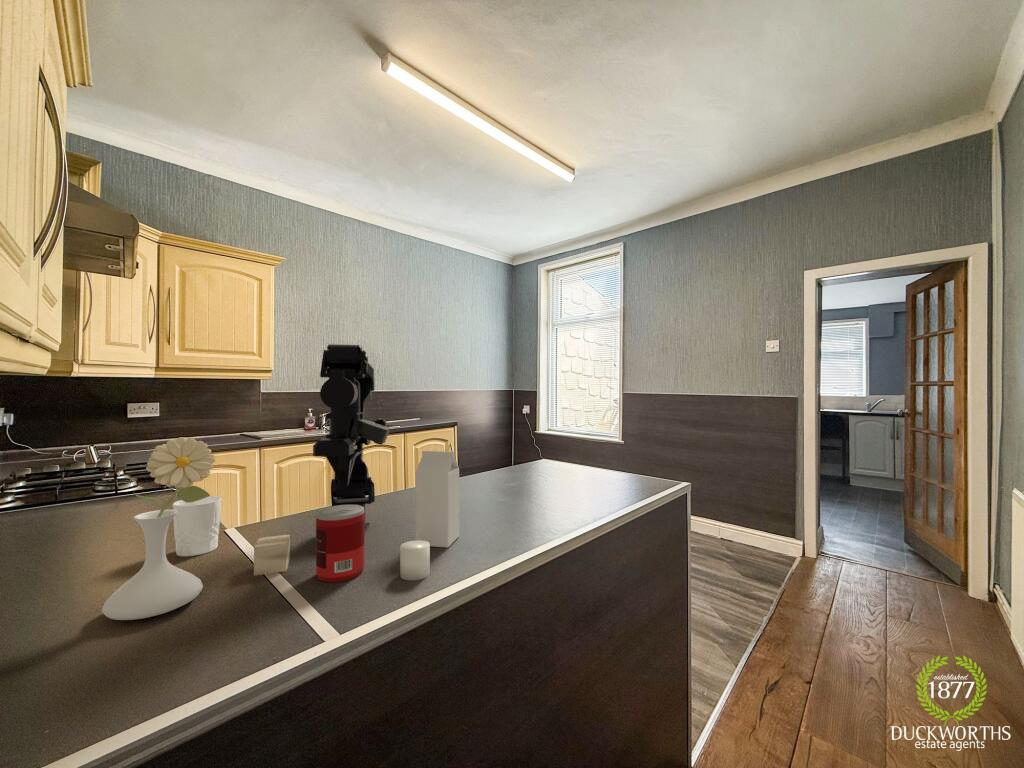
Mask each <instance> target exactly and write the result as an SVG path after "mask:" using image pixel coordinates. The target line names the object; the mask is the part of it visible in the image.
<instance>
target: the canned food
mask: <svg viewBox="0 0 1024 768" xmlns="http://www.w3.org/2000/svg"><path fill="white" fill-rule="evenodd" d="M365 533H366V531H365V511H364V507H363V506H360V505H337V506H332V505H331V506H329V507H324V508H322V509H320V510H318V511H317V512H316V516H315V570H316V571H315V574H316V577H317V579H318V580H320V582H321V581H322V582H324V583H325V582H326V583H338V582H345V581H349V580H351V579H354V578H355V577H357V576H359V575H361V573H363V571H364V569H365V544H366V543H365V539H366V537H365Z"/></svg>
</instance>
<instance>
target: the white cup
mask: <svg viewBox="0 0 1024 768" xmlns="http://www.w3.org/2000/svg"><path fill="white" fill-rule="evenodd" d="M221 507H222V497H221V496H217V495H210V496H209V497H206V498H204V499H201V500H198V501H195V502H190V503H187V502H184V501H183V500H182V499H180V500H176V501H174V502H173V503H172V510H177V511H178V512H177V513H176V515H175V516H174V517H173V519H172V521H173V533H174V541H175V555H176V556H179V557H194V556H195V557H196V556H199V555H204V554H208V553H210V552H213V551H214V550H216V549H217V548H218V545H219V533H220V522H221V510H222V509H221Z"/></svg>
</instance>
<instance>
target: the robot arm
mask: <svg viewBox="0 0 1024 768" xmlns="http://www.w3.org/2000/svg"><path fill="white" fill-rule="evenodd" d="M321 360H322V361H321V367H320V373H319V376H320V378H326V379H327V378H328V379H327V380H325V382H324V383H323V384H322V385H321V388H320V391H319V395H320V399H321V401H322V403H323V404H324V405H325V407H326V406H327V407H328V408H329V409H328V410H329V411H328V412H326V413H325V419H328V420H329V421H328V422H329V424H328V425H329V427H328V429H329V431H328V433H326V434H325V438H322V439H319V440H318V441H316V443H314V444H313V445H312V456H313V457H325V458H326V459H327V461H328V463H329V465H330V466H331V468H332V471H333V472H334V478H332V479H331V483H330V496H331V497H330V499H331V507H332V506H337V505H360V506H363V507H364V511H365V532H366V531H367V530H366V529H369V527H370V526H369V525H371V523H370V522H367V519H366V517H367V512H366V511H367V505H371V504H372V503H375V502H376V498H375V497H376V495H375V494H376V493H375V490H376V489H375V482H373V479H372V477H371V476H369V475H370V473H369V469H368V466H367V465H366V463H365V461H364V459H363V458H364V457H363V455H364V450H365V448H364V445H365V446H368V445H370V444H372V443H371V442H373V443H374V444H376V445H383V444H385V443H386V441H387V438H388V435H389V434H390V430H391V428H390V426H388V425H387V420H386V419H383V418H377V420H375V421H374V422H373V420H367V419H365V409H366V407H367V405H369V403H370V402H371V401H372V399H373V398H372V397H373V392H375V390H376V388H375V387H376V385H375V384H376V382H375V380H376V379H375V369H374V367H372V365H371V364H370V363H369V356H368V355H367V351H366V350H363V347H362V345H360V344H334V343H333V344H330V343H329V344H328V345H327V347H326V349H324V350H323V353H322V359H321ZM368 526H369V527H368Z"/></svg>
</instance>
